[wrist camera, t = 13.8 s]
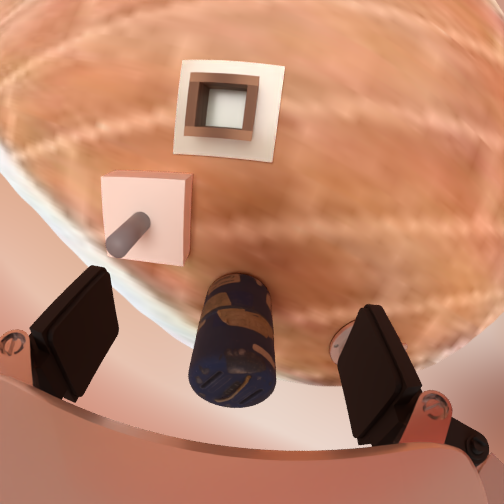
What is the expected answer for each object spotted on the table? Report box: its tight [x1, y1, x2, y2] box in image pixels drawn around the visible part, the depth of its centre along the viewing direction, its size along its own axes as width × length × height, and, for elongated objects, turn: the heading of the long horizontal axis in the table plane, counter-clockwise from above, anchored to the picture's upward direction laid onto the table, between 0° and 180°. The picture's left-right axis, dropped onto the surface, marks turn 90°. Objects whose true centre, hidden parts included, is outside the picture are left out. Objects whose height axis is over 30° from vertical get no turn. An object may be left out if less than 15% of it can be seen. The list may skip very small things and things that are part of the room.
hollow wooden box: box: [184, 72, 260, 141], centre depth 26 cm, size 7×7×6 cm
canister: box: [188, 274, 276, 408], centre depth 33 cm, size 10×10×18 cm
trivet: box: [173, 60, 285, 162], centre depth 29 cm, size 12×12×1 cm
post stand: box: [101, 170, 193, 266], centre depth 30 cm, size 11×11×11 cm
